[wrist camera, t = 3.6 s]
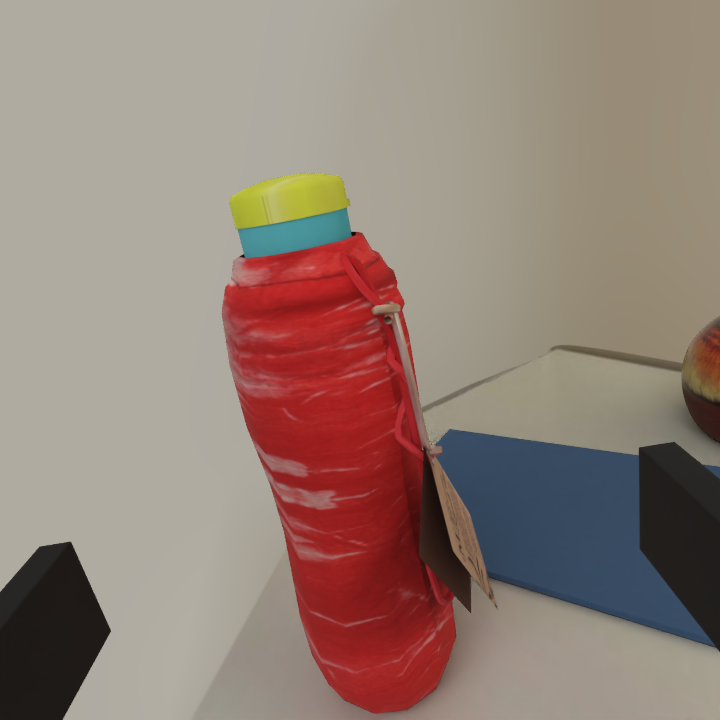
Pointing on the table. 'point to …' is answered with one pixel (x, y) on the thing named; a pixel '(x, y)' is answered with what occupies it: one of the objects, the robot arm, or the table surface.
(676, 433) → the table surface
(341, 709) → the table surface
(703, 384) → the vase
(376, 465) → the water bottle
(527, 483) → the blue mat
